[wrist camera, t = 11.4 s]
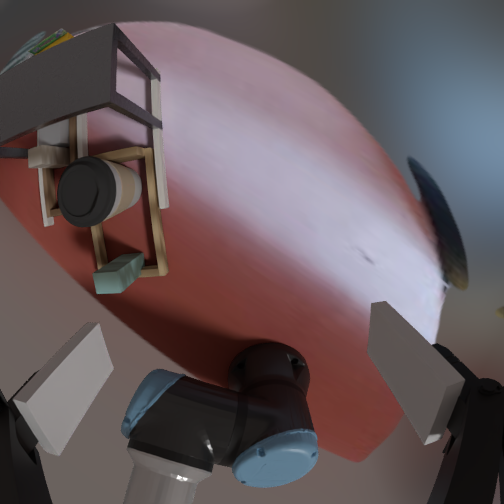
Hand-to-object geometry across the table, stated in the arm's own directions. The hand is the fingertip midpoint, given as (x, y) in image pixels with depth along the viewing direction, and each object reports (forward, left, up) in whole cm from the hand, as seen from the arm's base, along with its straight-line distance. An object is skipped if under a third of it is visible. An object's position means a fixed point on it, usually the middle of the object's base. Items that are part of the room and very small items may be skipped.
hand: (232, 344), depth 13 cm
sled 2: (+4, +19, -35) cm, 40 cm away
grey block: (+21, +31, -35) cm, 51 cm away
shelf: (+22, +24, -35) cm, 47 cm away
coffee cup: (+9, +19, -35) cm, 41 cm away
